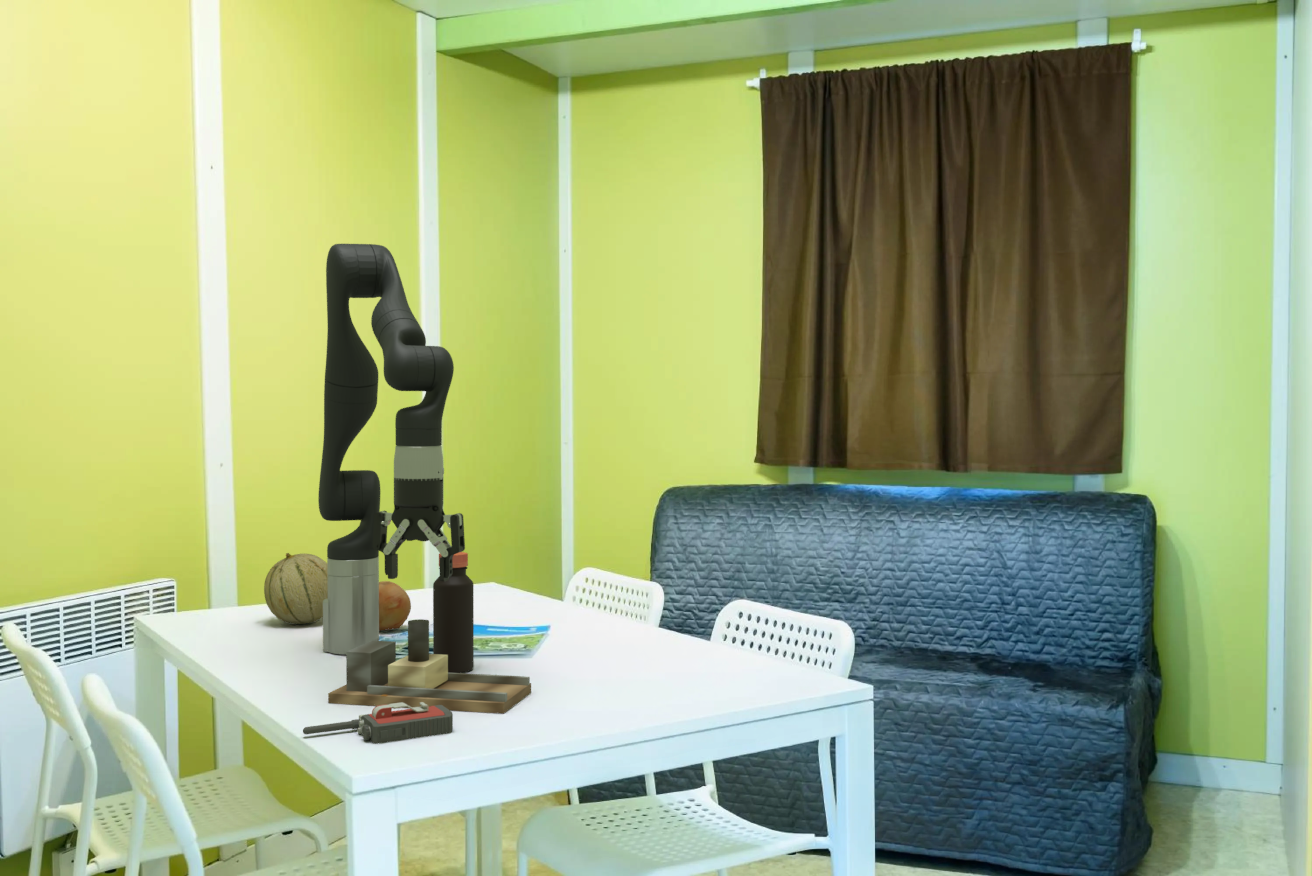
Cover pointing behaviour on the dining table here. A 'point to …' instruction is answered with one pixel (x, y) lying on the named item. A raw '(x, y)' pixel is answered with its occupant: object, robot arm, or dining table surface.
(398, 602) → the onion
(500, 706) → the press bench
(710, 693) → the dining table surface
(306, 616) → the cantaloupe
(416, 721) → the walkie-talkie
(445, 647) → the bottle
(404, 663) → the block
